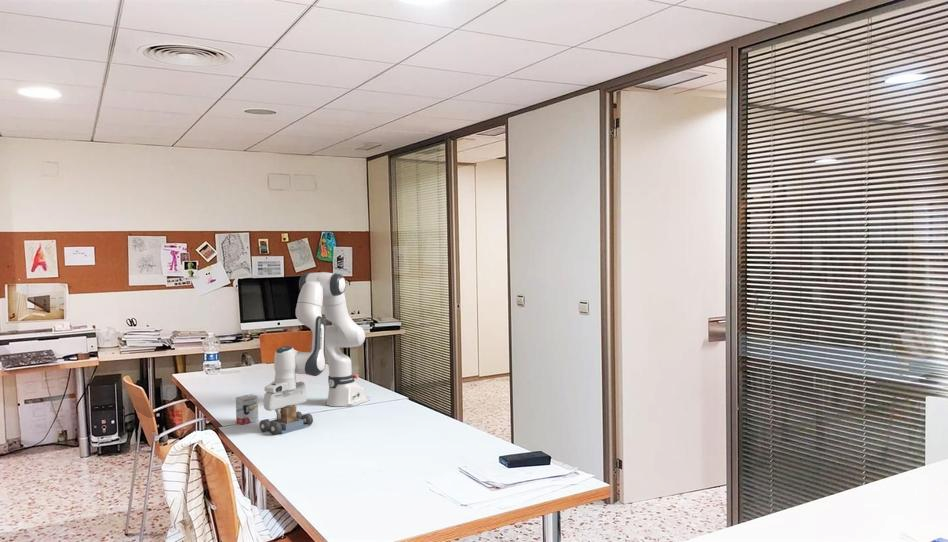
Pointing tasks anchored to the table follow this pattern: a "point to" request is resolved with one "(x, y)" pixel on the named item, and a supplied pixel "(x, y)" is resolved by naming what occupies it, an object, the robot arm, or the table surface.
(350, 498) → the table surface
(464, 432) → the table surface
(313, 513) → the table surface
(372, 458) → the table surface
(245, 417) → the ink box
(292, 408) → the brown box
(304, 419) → the chassis
